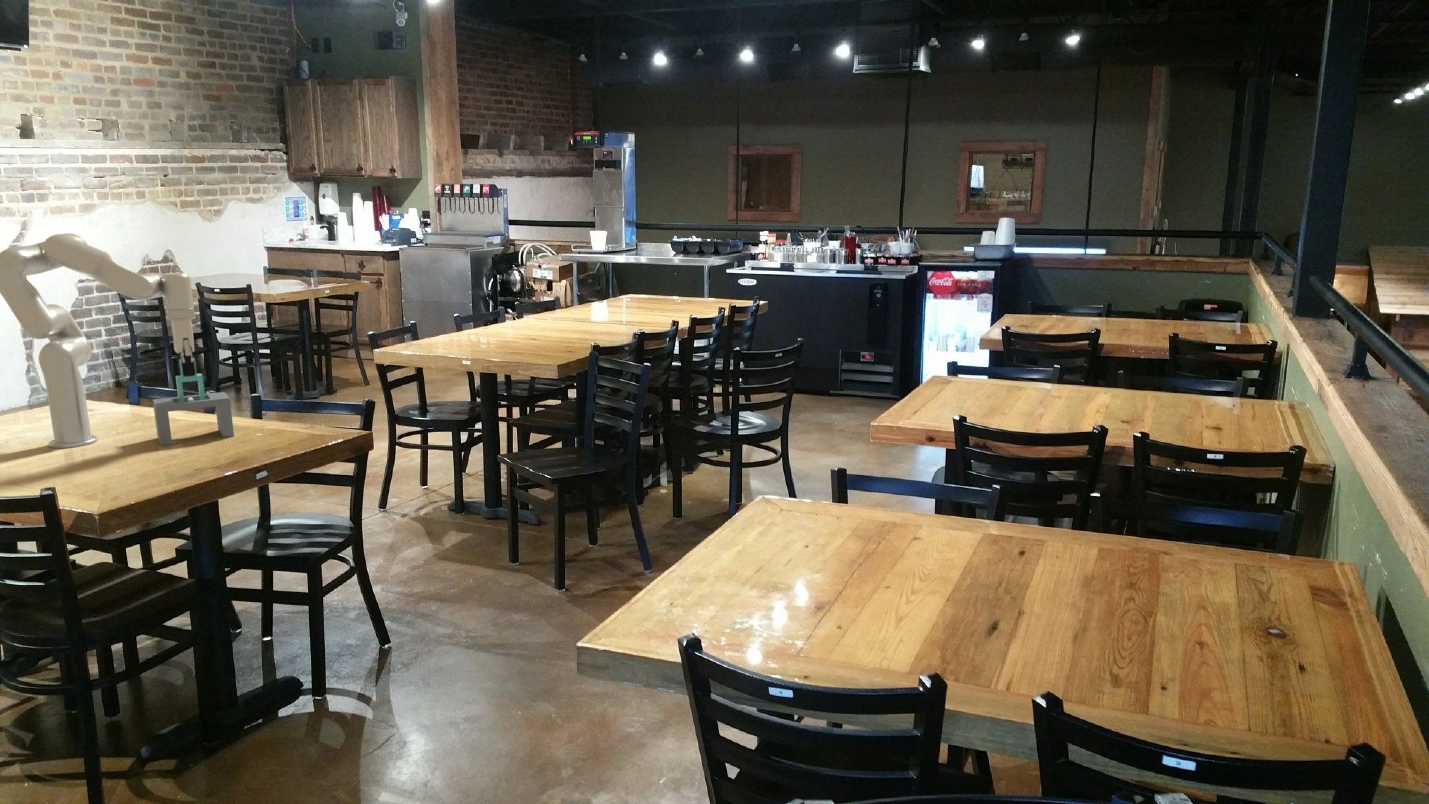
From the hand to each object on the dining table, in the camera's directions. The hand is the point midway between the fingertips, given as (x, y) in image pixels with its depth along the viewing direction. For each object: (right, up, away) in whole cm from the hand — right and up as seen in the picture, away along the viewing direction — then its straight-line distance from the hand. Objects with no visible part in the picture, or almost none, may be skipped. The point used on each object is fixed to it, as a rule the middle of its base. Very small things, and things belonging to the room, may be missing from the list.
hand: (188, 374), depth 311 cm
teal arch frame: (0, -10, +2) cm, 10 cm away
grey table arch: (0, -19, +4) cm, 20 cm away
